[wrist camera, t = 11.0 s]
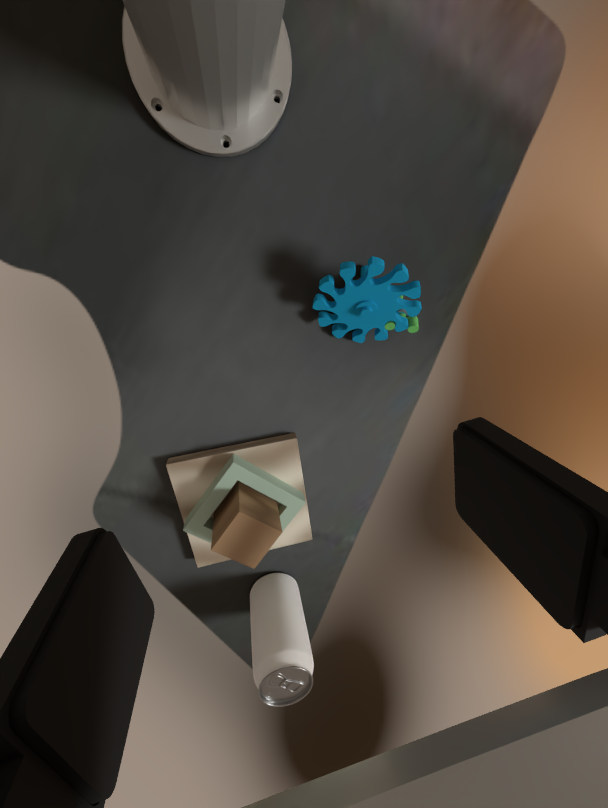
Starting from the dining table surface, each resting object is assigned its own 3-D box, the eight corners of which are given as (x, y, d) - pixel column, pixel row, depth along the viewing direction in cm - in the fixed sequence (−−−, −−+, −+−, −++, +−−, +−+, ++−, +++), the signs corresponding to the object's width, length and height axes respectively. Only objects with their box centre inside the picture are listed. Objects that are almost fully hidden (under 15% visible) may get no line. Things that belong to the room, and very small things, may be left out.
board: (168, 458, 37) (165, 464, 35) (294, 432, 39) (296, 438, 37) (199, 558, 42) (197, 567, 40) (310, 531, 44) (312, 539, 42)
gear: (292, 321, 33) (358, 247, 25) (298, 278, 36) (358, 200, 28) (378, 362, 38) (456, 309, 30) (377, 321, 41) (448, 264, 33)
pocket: (185, 518, 38) (182, 530, 36) (233, 453, 37) (233, 462, 35) (256, 551, 41) (256, 563, 39) (302, 492, 40) (306, 502, 38)
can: (268, 563, 44) (279, 657, 33) (307, 581, 46) (329, 674, 35) (239, 598, 45) (240, 701, 34) (279, 614, 47) (292, 715, 36)
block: (214, 512, 38) (210, 550, 33) (238, 478, 38) (239, 511, 32) (251, 529, 40) (254, 568, 34) (275, 497, 39) (282, 532, 34)
